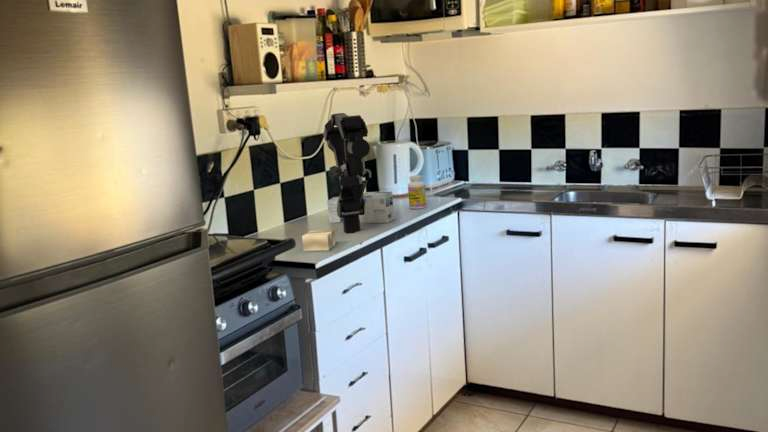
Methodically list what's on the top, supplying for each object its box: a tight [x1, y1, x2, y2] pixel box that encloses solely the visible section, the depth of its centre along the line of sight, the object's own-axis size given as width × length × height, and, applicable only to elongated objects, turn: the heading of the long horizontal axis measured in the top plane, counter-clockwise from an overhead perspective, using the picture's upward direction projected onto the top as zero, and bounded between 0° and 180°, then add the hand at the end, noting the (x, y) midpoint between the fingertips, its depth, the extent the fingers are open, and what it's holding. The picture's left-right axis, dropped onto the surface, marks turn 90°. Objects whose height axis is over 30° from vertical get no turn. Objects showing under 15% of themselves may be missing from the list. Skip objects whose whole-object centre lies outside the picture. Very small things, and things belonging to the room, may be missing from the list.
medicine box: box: [326, 196, 343, 224], centre depth 271 cm, size 8×4×9 cm, turn 170°
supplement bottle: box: [407, 174, 427, 210], centre depth 285 cm, size 7×7×13 cm
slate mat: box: [292, 240, 350, 255], centre depth 223 cm, size 16×14×1 cm
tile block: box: [301, 229, 336, 252], centre depth 221 cm, size 5×8×8 cm
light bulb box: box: [360, 190, 396, 224], centre depth 263 cm, size 11×7×11 cm, turn 66°
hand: (358, 203), depth 231 cm, fingers closed
